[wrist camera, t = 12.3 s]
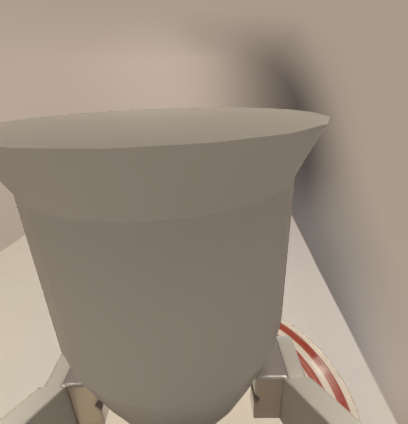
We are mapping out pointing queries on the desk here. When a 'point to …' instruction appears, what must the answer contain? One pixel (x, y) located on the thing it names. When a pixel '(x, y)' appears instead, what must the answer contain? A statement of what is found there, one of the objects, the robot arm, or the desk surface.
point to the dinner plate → (313, 368)
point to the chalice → (161, 247)
